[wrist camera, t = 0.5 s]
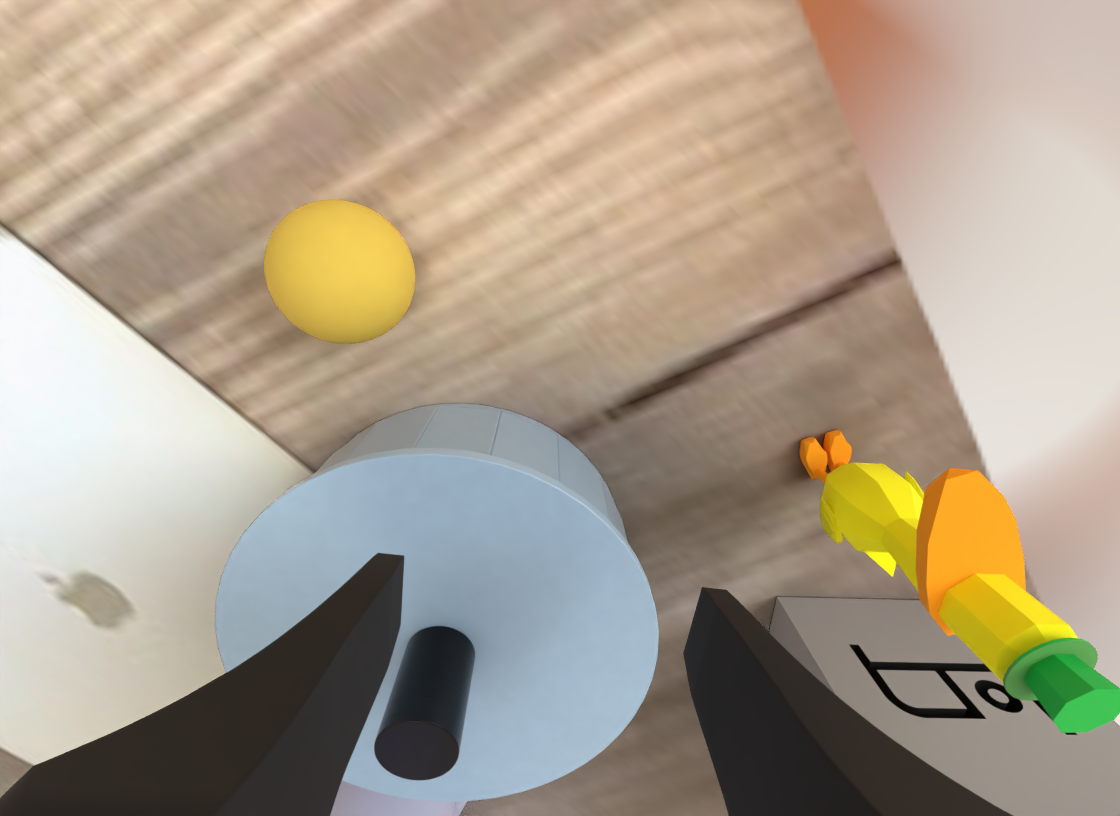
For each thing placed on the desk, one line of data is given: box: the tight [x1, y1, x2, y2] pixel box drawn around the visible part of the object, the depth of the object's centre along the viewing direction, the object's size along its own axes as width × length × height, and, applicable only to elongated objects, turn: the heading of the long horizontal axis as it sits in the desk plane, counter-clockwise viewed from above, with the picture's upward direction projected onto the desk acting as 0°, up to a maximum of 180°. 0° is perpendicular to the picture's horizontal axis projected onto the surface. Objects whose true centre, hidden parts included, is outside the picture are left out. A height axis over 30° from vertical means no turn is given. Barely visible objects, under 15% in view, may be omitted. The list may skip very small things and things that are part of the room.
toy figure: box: [800, 430, 1120, 733], centre depth 17 cm, size 7×4×12 cm, turn 19°
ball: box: [264, 200, 415, 344], centre depth 17 cm, size 5×5×5 cm
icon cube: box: [769, 597, 1120, 816], centre depth 22 cm, size 10×10×10 cm
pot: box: [317, 403, 628, 543], centre depth 21 cm, size 14×14×6 cm
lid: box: [215, 448, 659, 802], centre depth 17 cm, size 15×15×5 cm
